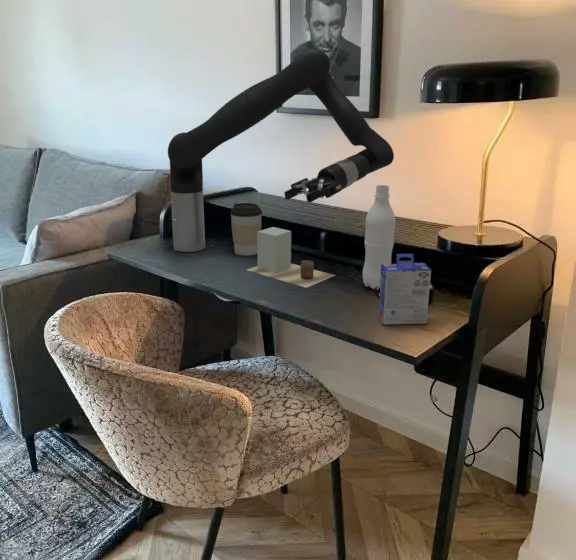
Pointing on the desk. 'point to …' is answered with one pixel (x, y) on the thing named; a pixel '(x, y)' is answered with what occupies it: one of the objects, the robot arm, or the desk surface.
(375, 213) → the water bottle
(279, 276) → the oak board
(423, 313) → the ink cartridge box
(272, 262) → the pale upright block
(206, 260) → the desk surface
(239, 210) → the coffee cup
